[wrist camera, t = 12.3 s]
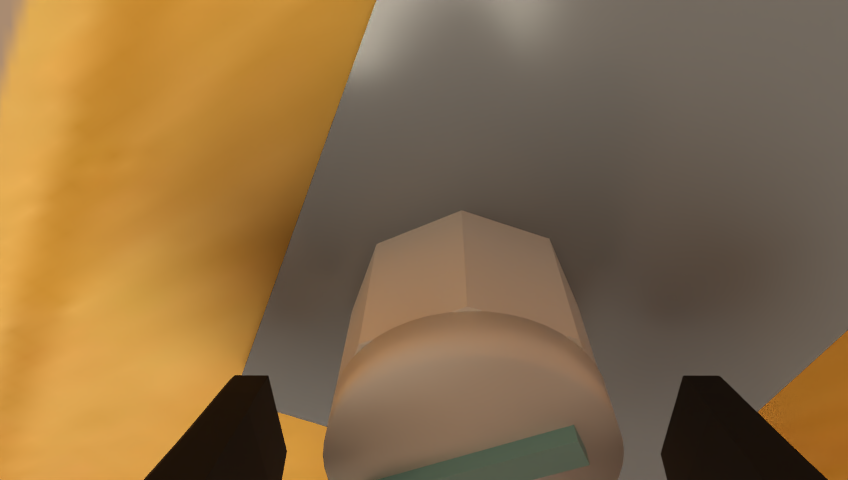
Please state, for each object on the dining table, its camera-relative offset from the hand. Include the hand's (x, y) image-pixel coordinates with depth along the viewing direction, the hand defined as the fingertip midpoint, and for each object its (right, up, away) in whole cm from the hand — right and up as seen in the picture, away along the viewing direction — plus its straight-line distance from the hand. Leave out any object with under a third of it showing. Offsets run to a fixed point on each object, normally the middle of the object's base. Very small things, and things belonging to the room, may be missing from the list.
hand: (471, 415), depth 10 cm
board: (+3, +3, +2) cm, 5 cm away
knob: (0, +2, +2) cm, 3 cm away
